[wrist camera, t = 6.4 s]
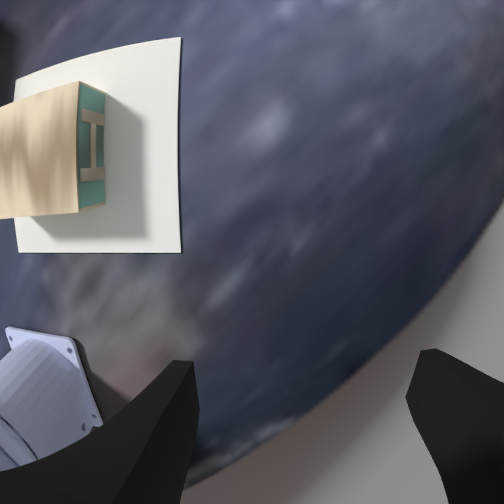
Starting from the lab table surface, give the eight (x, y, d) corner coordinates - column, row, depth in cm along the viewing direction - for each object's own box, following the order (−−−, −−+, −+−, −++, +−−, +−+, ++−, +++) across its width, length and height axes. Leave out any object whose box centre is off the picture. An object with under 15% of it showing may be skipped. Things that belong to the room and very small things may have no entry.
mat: (181, 252, 18) (180, 252, 18) (19, 252, 18) (19, 252, 18) (181, 37, 14) (180, 37, 14) (17, 80, 14) (16, 80, 14)
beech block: (81, 212, 14) (-5, 219, 14) (108, 204, 17) (25, 211, 17) (82, 79, 12) (-6, 109, 12) (107, 91, 15) (23, 113, 15)
